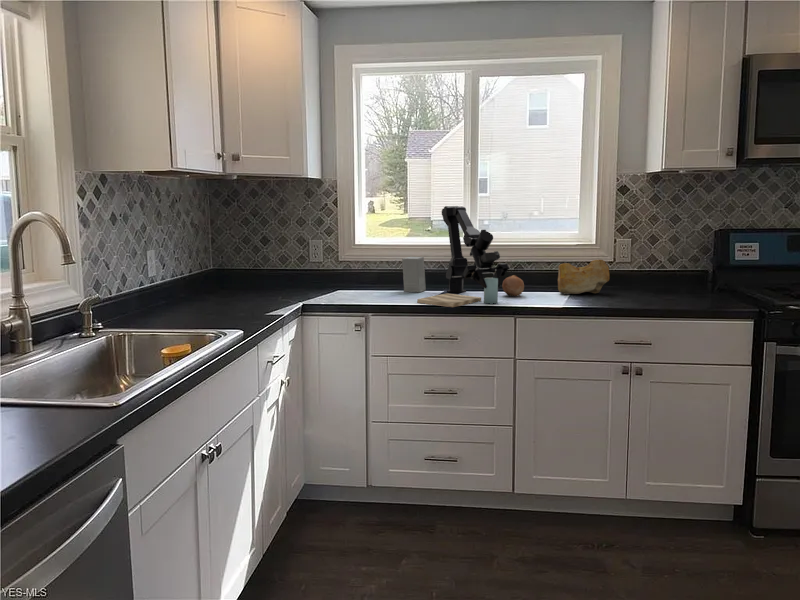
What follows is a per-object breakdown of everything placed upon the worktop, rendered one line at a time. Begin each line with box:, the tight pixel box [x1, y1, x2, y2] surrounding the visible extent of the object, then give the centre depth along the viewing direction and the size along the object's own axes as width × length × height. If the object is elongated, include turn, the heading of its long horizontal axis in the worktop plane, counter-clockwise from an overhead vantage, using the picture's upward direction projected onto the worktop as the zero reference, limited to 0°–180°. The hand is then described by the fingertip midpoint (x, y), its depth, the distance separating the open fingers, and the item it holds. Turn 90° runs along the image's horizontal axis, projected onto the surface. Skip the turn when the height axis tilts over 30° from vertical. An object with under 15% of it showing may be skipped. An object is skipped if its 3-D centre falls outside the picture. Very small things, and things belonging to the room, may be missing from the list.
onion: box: [501, 274, 525, 297], centre depth 290 cm, size 10×9×10 cm
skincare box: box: [401, 256, 427, 293], centre depth 304 cm, size 8×7×16 cm
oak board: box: [417, 292, 482, 308], centre depth 276 cm, size 20×18×2 cm
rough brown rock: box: [557, 259, 611, 295], centre depth 298 cm, size 23×17×15 cm
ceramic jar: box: [483, 277, 499, 305], centre depth 272 cm, size 6×6×10 cm
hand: (492, 287), depth 270 cm, fingers closed on ceramic jar, 6 cm apart
